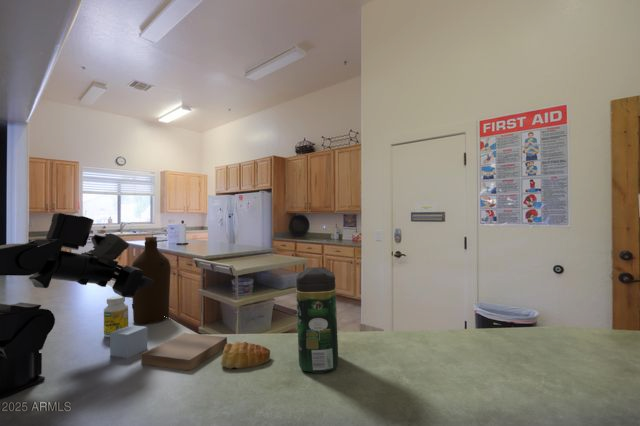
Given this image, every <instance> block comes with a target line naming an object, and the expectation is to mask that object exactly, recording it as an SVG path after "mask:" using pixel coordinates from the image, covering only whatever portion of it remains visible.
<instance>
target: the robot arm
mask: <svg viewBox="0 0 640 426" xmlns="http://www.w3.org/2000/svg"><path fill="white" fill-rule="evenodd" d="M94 222H95V221H94V219H92V218H90V217H87V216H83V215H74V214H67V213H66V214H65V213H62V212H56V213H53V215H52V218H51V223H50V227H49V229H48V231H47V234H46V237H45V238H37V239H34V240H32V241H28V242H25V243H7V244H2V245H0V276H15V277H16V276H23V277H24V276H26V277H27V276H29V277H28V280H29V281H31V282H32V285H33V287H35V288H39V289H48V288H49V287H50V284H51V281H52V280H58V281H66V282H76V283H78V284H80V285H82V286H84V285H85V286H87V284H95V285H97V286H99V287H100V288H101V287H102V288H106V287H107V285H108V283H109V282H110V281H111V280H112V279H114V280H115V281H114V283H113V285H112V288H111V289H112V290H113V292H114V294H116V295H117V296H122V297H125V298H129V299H130V298H131V299H132V297H133V296H134V294H135V292H136V291H138V290H141V289H143V288H145V287H148V286H150V285H152V284H153V283H154V280H152V279H150V278H147V277H144V276H143V270H140V269H138V268H136V267H132V265H125V266H123V265H120V264H119V261H117V259H118V258H119V257H120V256H121V255H122V253H124V251H125V250H127V249H128V248H129V246H130V244H129V242H127V241H125V240H124V239H123V238H122V237H120V236H119V235H116V234H115V233H111V232H110V233H106V232H105V234H104V235H103V234H97V233H96V234H94V235H93V236H92V237H91V238H90V234H91V230H92V227H93V225H94ZM89 238H90V239H91V242H92V244H93V246H92V248H93V249H90V250H88V251H87V252H86V251H84V252H80V253H78V252H73V251H79V249H80V248H85V247H86V245H87V243H88V240H89ZM62 249H65V250H62ZM66 250H73V251H72V252H71V251H66ZM55 324H56V318H55V315H54V313H53V312H52V311H51V310H50V309H48V308H42V304H37V303H29V302H18V303H14V304H13V303H12V304H7V303H0V399H3V398H6V397H7V396H10V395H12V394H14V393H15V394H16V393H17V392H19V391H21V390H24V389H26V388H29V387H31V386H34V385H36V384H38V383H41V382H43V381H45V380H46V377H45V376H42V373H43V352H41V350H43V348H44V345H45V343H46V341H47V337H48V335H49V334H50V333H51V332H52V330H53V329H54V326H55Z"/></svg>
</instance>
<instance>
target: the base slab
mask: <svg viewBox="0 0 640 426" xmlns="http://www.w3.org/2000/svg"><path fill="white" fill-rule="evenodd" d="M198 334H199V333H198ZM198 334H197V333H186V332H184V333H182V334H179V335H177V336H175V337H173V338H171V339H169V340H166V341H164V342H163V343H160V344H159V345H157V346H154V347H152V348H151V349H147V350H146V351H144V352H142V353H141V354H140V355H141V356H140V357H141V358H140V359H141V360H140V362H141V363H140V364H141V365H148V366H155V367H162V368H169V369H175V370H181V371H182V370H183V371H189V372H190V371H191V370H193V369H194V368H196V367H198V366H199V365H200V364H202V363H203V362H205V361H206V360H209V359H210V358H211V357H214V355H216V354H217V353H219V352H220V351H221V349H222V350H224V347H225V345H226V344H228V337H227V336H217V335H207V334H199V335H198ZM218 351H219V352H218ZM215 353H216V354H215Z"/></svg>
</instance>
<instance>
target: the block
mask: <svg viewBox="0 0 640 426" xmlns="http://www.w3.org/2000/svg"><path fill="white" fill-rule="evenodd" d="M109 347H110V348H109V353H110V354H109V355H110V356H112V357H118V358H125V359H126V358H127V359H128V358H130V357H133V356H135V355H137V354H139V353H141V352H143V351H145V350H148V326H144V325H143V326H140V325H132V324H131V325H128V326H127V327H125V328H122V329H119V330H116V331H114V332H111V333H110V337H109Z"/></svg>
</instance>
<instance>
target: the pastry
mask: <svg viewBox="0 0 640 426" xmlns="http://www.w3.org/2000/svg"><path fill="white" fill-rule="evenodd" d="M222 350H223V351H222V355H221V362H220V365H221V366H222V367H224V368H226V369H227V370H228V369H230V370H232V369H233V368H236V369H244V368H252V367H257V366H258V367H259V366H261V365H262V364H265V363H267V362H268V361H270V359H271V349H269V348H267V347H265V346H262V345H260V344H255V343H252V342H250V343H249V342H247V341H244V342H237V341H236V342H235V343H228V342H227V344H226V345H225V347H224V348H223V349H222Z"/></svg>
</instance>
